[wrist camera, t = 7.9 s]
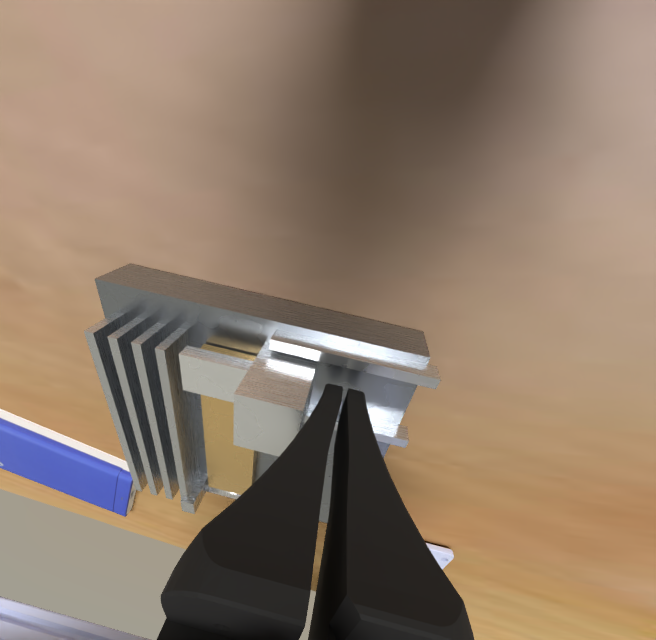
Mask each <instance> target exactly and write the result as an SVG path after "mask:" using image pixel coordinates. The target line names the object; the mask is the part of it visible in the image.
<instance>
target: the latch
mask: <svg viewBox="0 0 656 640" xmlns="http://www.w3.org/2000/svg"><path fill="white" fill-rule="evenodd" d="M269 346H270V342H268V341H266V342H265V343H264V345H263V347H262V348H261V350H260V352H259V353H258V355H257V357H256V358H255V360H254V361H250V360H245V359H241V358H237V357H233V356H229V355H225V354H221V353H216V352H212V351H208V350H204V349H200V348H196V347H192V346H188V345H187V346H186V347H185V348H184V349H183V350H182V351H181V352H180V353H179V361H180V369H181V378H182V386H183V390H185V391H189V392H193V393H197V394H201V395H205V396H209V397H213V398H217V399H221V400H225V401H229V402H233V403H234V440H233V445H235V446H239V447H243V448H247V449H251V450H255V451H259V452H263V453H267V454H271V455H275V456H278V457H279V456H280V455H281V454H282V453H283V451H284V450H285V449H286V448H287V447H288V445H289V444H290V443H291V442H292V440H293V439H294V438H295V436H296V435H297V434H298V432H299V431H300V430H301V428H302V427H303V424H304V421H305V417H306V414H307V410H308V406H309V403H310V399H311V394H312V389H313V385H314V380H315V375H316V370H317V365H318V361H316V360H312V359H308V358H303V357H299V356H295V355H291V354H287V353H283V352H278V351H274V350H270V349H269Z"/></svg>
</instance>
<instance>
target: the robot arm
mask: <svg viewBox="0 0 656 640" xmlns="http://www.w3.org/2000/svg"><path fill="white" fill-rule="evenodd" d="M342 394H343V387H342V386H338V385H334V384H329V383H328V384H326V385H325V388H324V391H323V393H322V396H321V398H320V400H319V401H318V403H317V405H316V407H315V409H314V410H313V412H312V413H311V415H310V417H309V418H308V420H307V421H306V423H305V424H304V426H303V427H302V428H301V430H300V431H299V432H298V434H297V435H296V436H295V438H294V439H293V440H292V442H291V443H290V444H289V445H288V447H287V448H286V449H285V450H284V451H283V453H282V454H281V455H280V456H279V457H278V458H277V459H276V461H275V462H274V463H273V464H272V465H271V466H270V467H269V468H268V469H267V470H266V471H265V472H264V473H263V474H262V475H261V477H260V478H259V479H258V480H257V481H256V482H254V483H253V484H252V485H251V486H250V487H249V488H248V489H247V490H246V491H245V492H244V493H243V494H242V495H241V496H240V497H239V498H237V499H236V500H235V501H234V502H233V503H232V504H231V505H230V506H228V507H227V508H226V509H225V510H224V511H223V512H221V513H220V514H219V515H218V516H217V517H215V518H214V519H213V520H212V521H211V522H209V523H208V524H207V525H206V526H205V527H203V528H202V530H201V531H200V532H199V534H198V535H197V536H196V537H195V539H194V540H193V541H192V543H191V544H190V545H189V547H188V548H187V549H186V551H185V552H184V554H183V555H182V557H181V558H180V560H179V562H178V563H177V565H176V567H175V568H174V570H173V572H172V574H171V576H170V578H169V580H168V582H167V585H166V586H165V588H164V590H163V592H162V594H161V604H162V607H163V610H164V612H165V615H166V617H167V619H166V621H165V623H164V625H163V627H162V630H161V631H160V634H159V636H158V638H157V640H299V638H300V636H301V634H302V632H303V629H304V627H305V622H306V616H307V610H308V603H309V597H310V590H311V581H312V572H313V564H314V555H315V547H316V539H317V530H318V523H319V515H320V507H321V500H322V493H323V485H324V478H325V471H326V464H327V458H328V451H329V447H330V442H331V439H332V435H333V431H334V428H335V424H336V420H337V416H338V413H339V409H340V405H341V402H342ZM453 558H454V555H453V551H452V550H451V549H448V548H444V547H441V546H437V545H433V544H429V543H425V541H424V540H423V538H422V536H421V534H420V533H419V531H418V529H417V527H416V525H415V524H414V522H413V520H412V518H411V516H410V515H409V513H408V511H407V509H406V507H405V505H404V503H403V501H402V499H401V497H400V495H399V493H398V491H397V489H396V487H395V485H394V483H393V481H392V478H391V476H390V474H389V472H388V469H387V467H386V464H385V462H384V459H383V457H382V454H381V451H380V449H379V446H378V443H377V440H376V437H375V434H374V431H373V428H372V424H371V421H370V417H369V413H368V409H367V404H366V399H365V394H364V392H362V391H358V390H354V389H350V388H348V391H347V394H346V398H345V401H344V404H343V408H342V411H341V414H340V418H339V421H338V427H337V432H336V438H335V444H334V456H333V469H332V483H331V496H330V507H329V516H328V522H327V529H326V535H325V542H324V548H323V554H322V560H321V566H320V572H319V578H318V584H317V590H316V596H315V602H314V608H313V614H312V620H311V625H310V632H309V637H308V640H474V636H473V632H472V629H471V625H470V622H469V618H468V615H467V612H466V608H465V605H464V602H463V600H462V598H461V597H460V595H459V594H458V593H457V591H456V590H455V588H454V587H453V585H452V584H451V582H450V581H449V579H448V578H447V576H446V575H445V573H444V572H443V570H442V569H443V568H444V567H445V566H446V565H447V564H448V563H449V562H450V561H451V560H452V559H453ZM0 640H150V639H147V638H143V637H140V636H136V635H133V634H129V633H126V632H122V631H119V630H115V629H112V628H108V627H105V626H101V625H98V624H95V623H91V622H88V621H84V620H81V619H77V618H74V617H70V616H66V615H63V614H60V613H56V612H53V611H49V610H46V609H42V608H39V607H35V606H32V605H29V604H25V603H21V602H18V601H15V600H11V599H8V598H4V597H1V596H0Z"/></svg>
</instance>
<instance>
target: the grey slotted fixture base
mask: <svg viewBox="0 0 656 640" xmlns="http://www.w3.org/2000/svg"><path fill="white" fill-rule="evenodd" d="M95 282H96V286H97V289H98V293H99V297H100V300H101V304H102V308H103V311H104V315H105V319H103V320H101V321H100V322H98V323H96V324H95V325H93V326H91V327H90V328H88V329H86V330H85V331H84V333H85V336H86V339H87V342H88V345H89V348H90V351H91V354H92V358H93V361H94V364H95V367H96V370H97V373H98V376H99V379H100V382H101V385H102V388H103V391H104V394H105V397H106V400H107V403H108V406H109V410H110V413H111V416H112V419H113V422H114V425H115V428H116V431H117V434H118V437H119V440H120V443H121V446H122V449H123V452H124V455H125V458H126V461H127V465H128V468H129V471H130V474H131V477H132V480H133V483H134V486H135V489H136V490H138V491H143V489H144V488H145V486H146V485H147V483H148V485H149V488H150V492H151V494H153V495H158V494H159V492H160V490H161V489H162V487H163V486H164V489H165V494H166V498H169V499H172V500H173V498H174V496H175V495H176V493H177V491H178V490H179V489H180V494H181V506H182V511H185V512H189V513H193V514H195V512H196V511H197V509H198V507H199V505H200V503H201V501H202V499H203V497H204V495H205V493H206V491H207V492H211V493H214V494H218V495H222V496H226V497H230V498H233V499H237V498H239V497H240V496H241V495H239V494H235V493H232V492H228V491H224V490H220V489H216V488H212V487H209V486H208V475H207V463H206V452H205V440H204V429H203V417H202V406H201V394H197V393H193V392H189V391H185V390H183V386H182V378H181V369H180V361H179V353H180V352H181V351H182V350H183V349H184V348H185V347H186V346H187V345H188V346H192V347H196V348H201V347H202V346H203V344H207V345H211V346H215V347H220V348H224V349H228V350H232V351H236V352H240V353H244V354H249V355H253V356H257V355H258V353H259V352H260V350H261V348H262V347H263V345H264V343H265V342H266V341H268V342H270V346H269V349H270V350H274V351H278V352H283V353H287V354H291V355H295V356H299V357H303V358H308V359H312V360H316V361H318V365H317V370H316V375H315V380H314V385H313V389H312V394H311V399H310V403H309V406H308V410H307V414H306V417H305V421H304V424H305V423H306V421H307V420H308V418H309V417H310V415H311V413H312V412H313V410H314V409H315V407H316V405H317V403H318V401H319V400H320V398H321V396H322V393H323V391H324V388H325V385H326V384H328V383H329V384H334V385H338V386H342V387H343V394H342V402H341V405H340V409H339V413H338V416H337V420H336V424H335V428H334V431H333V435H332V439H331V442H330V447H329V451H328V458H327V464H326V471H325V478H324V485H323V493H322V500H321V507H320V515H319V521H321V522H325V523H327V522H328V516H329V507H330V496H331V483H332V469H333V456H334V444H335V438H336V432H337V427H338V421H339V418H340V414H341V411H342V408H343V404H344V401H345V398H346V394H347V391H348V388H350V389H354V390H358V391H362V392H364V394H365V399H366V404H367V409H368V413H369V417H370V421H371V424H372V428H373V431H374V434H375V437H376V440H377V443H378V446H379V449H380V451H381V454H382V457H383V458H384V456H385V454H386V451H387V449H388V447H389V445H390V444H392V445H396V446H400V447H404V448H405V447H406V446H407V444H408V442H409V438H408V429H407V427H406V426H402V425H399V424H400V422H401V419H402V417H403V415H404V413H405V411H406V409H407V407H408V404H409V402H410V400H411V398H412V396H413V394H414V392H415V389H416V387H417V385H420V386H424V387H428V388H433V389H436V388H437V386H438V384H439V382H440V376H439V373H438V369H437V367H436V366H431V365H427V364H428V362H429V360H430V355H429V351H428V347H427V344H426V340H425V336H424V332H423V331H418V330H414V329H410V328H405V327H401V326H397V325H392V324H388V323H384V322H379V321H375V320H371V319H367V318H362V317H358V316H354V315H349V314H345V313H341V312H336V311H332V310H328V309H323V308H319V307H315V306H311V305H306V304H302V303H298V302H293V301H289V300H285V299H280V298H276V297H272V296H267V295H263V294H259V293H255V292H250V291H246V290H242V289H237V288H233V287H229V286H224V285H220V284H216V283H211V282H207V281H203V280H199V279H194V278H190V277H186V276H181V275H177V274H173V273H168V272H164V271H160V270H155V269H151V268H147V267H143V266H138V265H134V264H128V265H126V266H123V267H121V268H119V269H116V270H114V271H112V272H109V273H107V274H105V275H102V276H100V277H98V278H95ZM304 424H303V426H304ZM277 458H278V456H275V455H271V454H267V453H263V452H259V451H257V461H256V474H255V482H256V481H257V480H258V479H259V478H260V477H261V475H262V474H263V473H264V472H265V471H266V470H267V469H268V468H269V467H270V466H271V465H272V464H273V463H274V462H275V461H276V459H277Z"/></svg>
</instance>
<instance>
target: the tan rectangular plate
mask: <svg viewBox="0 0 656 640" xmlns="http://www.w3.org/2000/svg"><path fill="white" fill-rule="evenodd" d="M200 349H204V350H208V351H212V352H216V353H221V354H225V355H229V356H233V357H237V358H241V359H245V360H250V361H254V360H255V358H256V357H257V356H253V355H249V354H244V353H240V352H236V351H232V350H228V349H224V348H220V347H215V346H211V345H207V344H203V346H202V347H201V348H200ZM201 406H202V417H203V429H204V440H205V452H206V463H207V475H208V486H209V487H212V488H216V489H220V490H224V491H228V492H232V493H235V494H239V495H242V494H243V493H244V492H245V491H246V490H247V489H248V488H249V487H250V486H251V485H252V484H253V483H254V482H255V474H256V461H257V451H255V450H251V449H247V448H243V447H239V446H235V445H233V440H234V403H233V402H229V401H225V400H221V399H217V398H213V397H209V396H205V395H201Z"/></svg>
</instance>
